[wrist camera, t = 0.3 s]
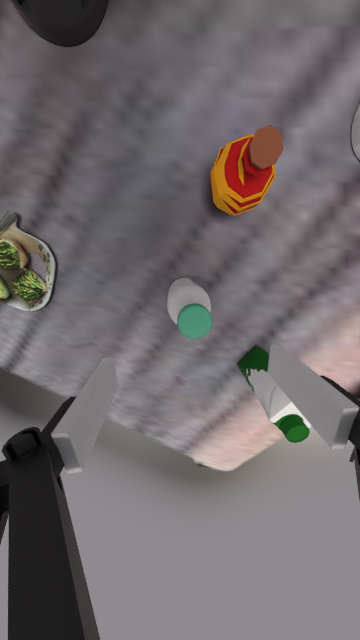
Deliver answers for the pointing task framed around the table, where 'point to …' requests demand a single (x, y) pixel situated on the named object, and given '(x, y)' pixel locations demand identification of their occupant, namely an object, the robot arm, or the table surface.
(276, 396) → the milk carton
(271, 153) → the potion bottle
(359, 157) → the utensil holder
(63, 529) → the robot arm
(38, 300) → the salad plate
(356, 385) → the table surface
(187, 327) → the milk bottle
